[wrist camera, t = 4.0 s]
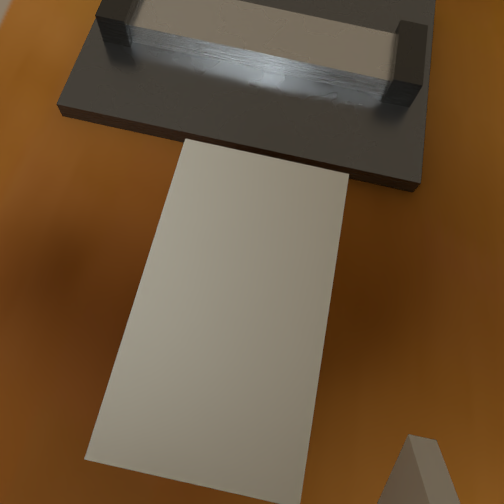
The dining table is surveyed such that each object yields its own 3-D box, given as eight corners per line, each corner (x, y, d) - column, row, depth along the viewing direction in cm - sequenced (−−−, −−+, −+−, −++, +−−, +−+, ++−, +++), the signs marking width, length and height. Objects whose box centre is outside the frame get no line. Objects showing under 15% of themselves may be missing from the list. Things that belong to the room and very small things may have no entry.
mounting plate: (429, 10, 29) (449, -29, 27) (413, 192, 24) (436, 165, 22) (137, -52, 30) (129, -97, 27) (62, 116, 25) (44, 80, 22)
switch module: (206, 249, 23) (194, 108, 12) (293, 268, 22) (353, 143, 12) (157, 436, 19) (84, 459, 9) (257, 459, 19) (299, 508, 9)
